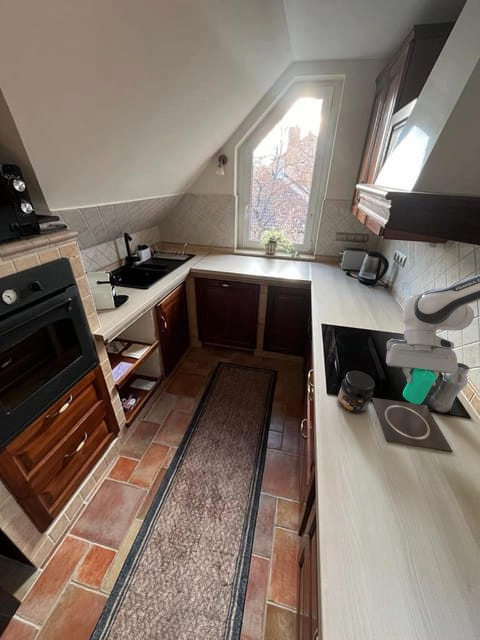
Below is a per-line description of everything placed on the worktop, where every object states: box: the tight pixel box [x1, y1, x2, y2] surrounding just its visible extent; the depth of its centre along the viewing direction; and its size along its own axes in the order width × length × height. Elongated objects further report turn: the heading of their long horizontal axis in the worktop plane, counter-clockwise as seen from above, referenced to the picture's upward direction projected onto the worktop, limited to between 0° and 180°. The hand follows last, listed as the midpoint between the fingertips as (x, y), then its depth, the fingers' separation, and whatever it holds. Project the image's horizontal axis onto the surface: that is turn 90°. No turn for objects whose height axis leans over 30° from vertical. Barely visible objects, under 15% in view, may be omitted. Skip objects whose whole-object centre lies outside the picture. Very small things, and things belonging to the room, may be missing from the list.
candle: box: [402, 368, 437, 405], centre depth 82 cm, size 6×6×12 cm
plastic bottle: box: [428, 362, 471, 414], centre depth 88 cm, size 6×7×20 cm
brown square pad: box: [371, 397, 453, 453], centre depth 87 cm, size 19×18×1 cm
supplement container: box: [337, 370, 376, 415], centre depth 91 cm, size 10×10×12 cm
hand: (421, 384), depth 81 cm, fingers closed on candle, 5 cm apart
